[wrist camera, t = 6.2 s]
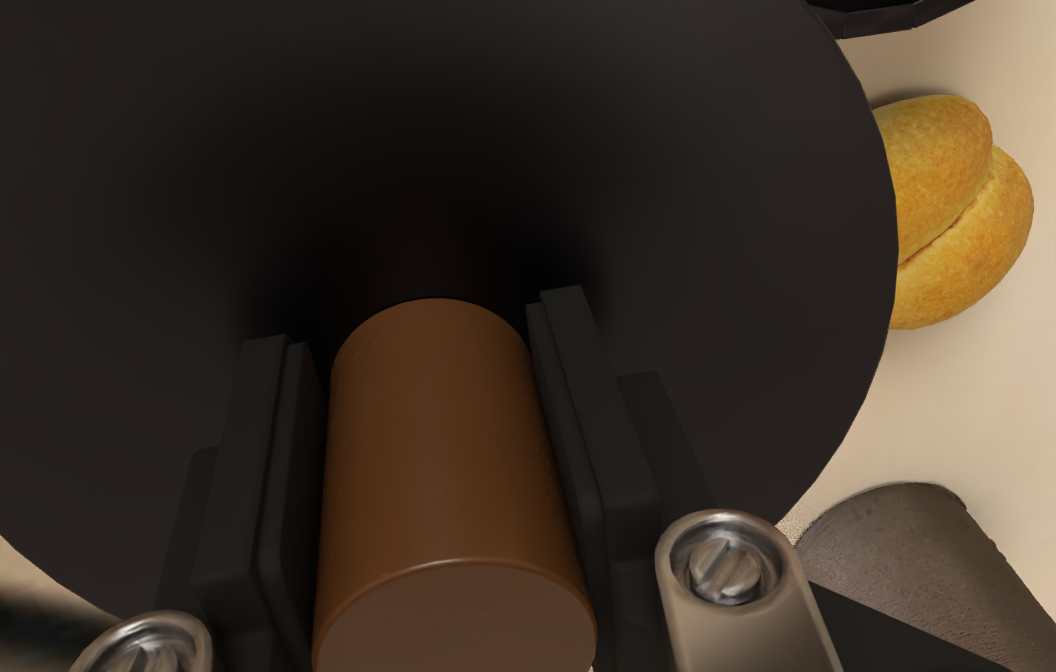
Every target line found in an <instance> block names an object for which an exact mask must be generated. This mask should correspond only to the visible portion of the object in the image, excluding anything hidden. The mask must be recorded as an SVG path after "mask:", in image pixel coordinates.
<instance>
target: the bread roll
mask: <svg viewBox="0 0 1056 672" xmlns="http://www.w3.org/2000/svg"><path fill="white" fill-rule="evenodd" d="M872 112H873V115H874V117H875V120H876V122H877V124H878V127H879V129H880V132H881V134H882V137H883V141H884V145H885V150H886V154H887V159H888V163H889V167H890V172H891V176H892V181H893V185H894V190H895V194H896V208H897V224H898V239H899V258H898V270H897V282H896V293H895V303H894V308H893V312H892V316H891V320H890V325H889V330H905V329H909V330H913V329H917V328H921V327H925V326H929V325H932V324H935V323H938V322H941V321H944V320H947V319H949V318H951V317H953V316H955V315H957V314H959V313H960V312H962V311H964V310H965V309H967V308H968V307H970V306H972V305H973V304H975V303H976V302H977V301H979V300H980V299H981V298H983V297H984V296H985V295H986V294H987V293H988V292H989V291H991V290H992V289H993V288H994V287H995V286H996V285H997V284H998V283H999V282H1000V281H1001V280H1002V279H1003V277H1004V276H1005V275H1006V273H1007V272H1008V271H1009V270H1010V269H1011V267H1012V266H1013V264H1014V263H1015V261H1016V260H1017V258H1018V257H1019V256H1020V254H1021V252H1022V250H1023V249H1024V247H1025V245H1026V242H1027V238H1028V235H1029V231H1030V228H1031V224H1032V218H1033V212H1034V201H1033V195H1032V190H1031V186H1030V184H1029V181H1028V179H1027V177H1026V176H1025V174H1024V172H1023V170H1022V169H1021V168H1020V167H1019V166H1018V164H1017V163H1016V162H1015V161H1014V159H1013V158H1011V157H1010V156H1009V155H1008V154H1006V153H1005V152H1004V151H1003V150H1001V149H1000V148H998V147H996V146H994V145H992V132H991V127H990V124H989V121H988V119H987V117H986V116H985V115H984V114H983V113H982V111H981V110H980V109H979V108H978V106H977V105H976V104H974V103H972V102H970V101H968V100H966V99H964V98H962V97H959V96H956V95H947V94H935V95H928V96H922V97H916V98H911V99H906V100H901V101H897V102H894V103H892V104H889V105H885V106H882V107H878V108H876V109H873V110H872Z"/></svg>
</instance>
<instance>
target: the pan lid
mask: <svg viewBox="0 0 1056 672" xmlns="http://www.w3.org/2000/svg"><path fill="white" fill-rule="evenodd" d="M898 258H899V239H898V224H897V208H896V194H895V190H894V185H893V181H892V176H891V172H890V167H889V163H888V159H887V154H886V150H885V145H884V141H883V137H882V134H881V132H880V129H879V127H878V124H877V122H876V120H875V117H874V115H873V112H872V110H871V107H870V105H869V102H868V100H867V97H866V95H865V92H864V90H863V87H862V85H861V82H860V80H859V79H858V77H857V75H856V74H855V72H854V70H853V69H852V67H851V65H850V64H849V62H848V60H847V59H846V57H845V56H844V54H843V52H842V51H841V49H840V47H839V46H838V44H837V42H836V41H835V39H834V37H833V36H832V34H831V32H830V31H829V29H828V27H827V26H826V25H825V24H824V23H823V21H822V20H821V19H820V18H819V17H818V15H817V14H816V13H815V12H814V11H813V10H812V8H811V7H810V6H809V5H808V4H807V3H806V1H805V0H0V535H1V536H2V537H3V538H4V539H5V540H6V541H7V542H8V543H9V544H10V545H11V546H12V547H13V548H14V549H15V550H16V551H18V552H19V553H20V554H21V555H23V556H24V557H25V558H26V559H28V560H29V561H30V562H32V563H33V564H34V565H35V566H37V567H38V568H39V569H41V570H42V571H43V572H44V573H46V574H47V575H48V576H49V577H51V578H52V579H53V580H55V581H56V582H57V583H58V584H60V585H62V586H63V587H65V588H67V589H68V590H70V591H71V592H73V593H75V594H76V595H78V596H80V597H81V598H83V599H84V600H86V601H88V602H89V603H91V604H92V605H94V606H96V607H97V608H99V609H101V610H102V611H104V612H106V613H108V614H110V615H112V616H114V617H116V618H118V619H120V620H122V621H124V620H126V619H129V618H132V617H135V616H137V615H140V614H143V613H146V612H151V611H152V609H153V605H154V601H155V597H156V593H157V589H158V585H159V582H160V578H161V574H162V570H163V566H164V562H165V558H166V554H167V550H168V546H169V543H170V539H171V535H172V531H173V527H174V523H175V519H176V515H177V511H178V507H179V504H180V500H181V496H182V492H183V488H184V484H185V480H186V476H187V472H188V468H189V465H190V461H191V459H192V456H193V454H194V453H195V452H196V451H197V450H198V449H203V448H208V447H214V446H220V443H221V439H222V434H223V430H224V425H225V421H226V416H227V411H228V407H229V402H230V398H231V393H232V389H233V384H234V380H235V375H236V371H237V366H238V361H239V357H240V352H241V348H242V345H243V342H244V341H246V340H252V339H258V338H264V337H270V336H276V335H282V334H288V335H289V336H290V337H291V339H292V341H293V344H295V343H301V342H306V343H307V345H308V346H309V349H310V352H311V355H312V359H313V362H314V365H315V368H316V372H317V375H318V378H319V381H320V385H321V388H322V391H323V394H324V398H325V401H326V404H327V407H328V419H327V434H326V448H325V462H324V476H323V491H322V505H321V519H320V533H319V548H318V562H317V576H316V590H315V605H314V619H313V633H312V647H311V669H312V672H588V671H589V669H590V668H591V666H592V663H593V661H594V658H595V656H596V652H597V647H598V642H599V625H598V620H597V616H596V612H595V608H594V604H593V601H592V599H591V597H590V594H589V590H588V586H587V582H586V578H585V574H584V570H583V566H582V562H581V558H580V554H579V550H578V546H577V542H576V538H575V534H574V530H573V526H572V522H571V518H570V514H569V510H568V506H567V502H566V498H565V494H564V490H563V486H562V482H561V478H560V474H559V470H558V466H557V462H556V458H555V454H554V450H553V446H552V442H551V438H550V434H549V430H548V427H547V423H546V419H545V415H544V411H543V407H542V403H541V399H540V395H539V391H538V387H537V383H536V379H535V375H534V370H533V363H532V355H531V347H530V339H529V331H528V324H527V316H526V305H527V304H533V303H539V302H540V298H539V293H540V291H545V290H551V289H557V288H563V287H569V286H575V285H580V286H581V288H582V290H583V292H584V295H585V298H586V300H587V303H588V306H589V308H590V311H591V314H592V316H593V319H594V322H595V324H596V327H597V330H598V332H599V335H600V338H601V340H602V343H603V346H604V348H605V351H606V354H607V356H608V359H609V362H610V364H611V367H612V370H613V372H614V375H615V377H617V376H622V375H628V374H634V373H640V372H646V371H651V370H654V371H656V372H657V373H658V375H659V377H660V379H661V381H662V383H663V385H664V387H665V389H666V392H667V394H668V396H669V398H670V401H671V403H672V405H673V407H674V410H675V412H676V414H677V416H678V419H679V421H680V423H681V425H682V428H683V430H684V432H685V434H686V437H687V439H688V441H689V443H690V446H691V448H692V450H693V452H694V455H695V457H696V459H697V461H698V464H699V466H700V468H701V470H702V473H703V475H704V477H705V479H706V481H707V484H708V486H709V488H710V490H711V493H712V495H713V497H714V499H715V502H716V504H717V506H718V508H719V509H734V510H739V511H743V512H747V513H752V514H754V515H756V516H758V517H760V518H762V519H764V520H766V521H768V522H770V523H771V524H773V525H774V526H775V525H776V524H777V523H778V522H779V521H780V520H782V519H783V518H784V517H785V516H786V514H787V513H788V512H789V511H790V510H791V509H792V507H793V506H794V505H795V504H796V503H797V502H798V501H799V499H800V498H801V497H802V496H803V495H804V494H805V492H806V491H807V490H808V489H809V488H810V487H811V486H812V484H813V483H814V482H815V481H816V479H817V478H818V477H819V475H820V474H821V472H822V471H823V469H824V468H825V466H826V465H827V464H828V462H829V461H830V459H831V458H832V456H833V455H834V453H835V452H836V450H837V449H838V448H839V446H840V445H841V443H842V442H843V440H844V438H845V436H846V434H847V432H848V431H849V429H850V427H851V425H852V423H853V421H854V419H855V417H856V416H857V414H858V412H859V410H860V408H861V406H862V404H863V402H864V400H865V399H866V396H867V393H868V391H869V388H870V385H871V383H872V380H873V378H874V375H875V372H876V370H877V367H878V364H879V362H880V359H881V356H882V354H883V351H884V346H885V342H886V338H887V333H888V329H889V325H890V320H891V316H892V312H893V308H894V303H895V293H896V282H897V270H898Z"/></svg>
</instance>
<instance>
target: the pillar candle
mask: <svg viewBox="0 0 1056 672" xmlns="http://www.w3.org/2000/svg"><path fill="white" fill-rule="evenodd" d="M966 508H967V507H966V505H965V504H964V503H963V502H962V501H961V499H960V498H959V497H958V496H956V495H955V494H954V493H952V492H950V491H949V490H947V489H945V488H943V487H940V486H937V485H935V484H923V483H904V484H896V485H892V486H887V487H881V488H878V489H874V490H871V491H868V492H866V493H863V494H861V495H858V496H856V497H854V498H851V499H850V500H849V501H846V502H843V503H841V504H839V505H837V506H836V507H835V508H833V509H831V510H830V511H829V512H828V513H826V514H824V515H823V517H821V518H820V519H819V520H817V521H816V522H815V523H814V525H813V526H812V527H811V528H810V529H809V530H807V532H806V533H805V534H804V535H803V537H802V538H801V540H800V541H799V542H798V544H797V546H796V548H795V549H794V550H795V551H796V554H797V556H798V559H799V561H800V563H801V566H802V568H803V571H804V573H805V576H806V578H807V580H809V581H811V582H813V583H816V584H818V585H820V586H823V587H825V588H827V589H829V590H832V591H834V592H836V593H838V594H841V595H843V596H845V597H848V598H850V599H852V600H854V601H857V602H859V603H861V604H864V605H866V606H868V607H870V608H873V609H875V610H877V611H879V612H882V613H884V614H886V615H889V616H891V617H893V618H895V619H898V620H900V621H902V622H905V623H907V624H909V625H911V626H914V627H916V628H918V629H920V630H923V631H925V632H927V633H930V634H932V635H934V636H936V637H939V638H941V639H943V640H946V641H948V642H950V643H952V644H955V645H957V646H959V647H961V648H964V649H966V650H968V651H971V652H973V653H975V654H977V655H980V656H982V657H984V658H987V659H989V660H991V661H993V662H996V663H998V664H1000V665H1002V666H1004V667H1006V668H1008V669H1010V670H1011V671H1013V672H1056V623H1055V622H1054V621H1053V619H1052V618H1051V617H1050V616H1049V615H1048V614H1047V613H1046V611H1045V610H1044V609H1043V607H1042V606H1041V605H1040V604H1039V602H1038V601H1037V600H1036V599H1035V597H1034V596H1033V595H1032V593H1031V592H1030V591H1029V589H1028V588H1027V587H1026V585H1025V584H1024V583H1023V581H1022V580H1021V579H1020V577H1019V576H1018V575H1017V574H1016V572H1015V571H1014V570H1013V568H1012V567H1011V566H1010V565H1009V564H1008V562H1007V561H1006V558H1005V557H1004V555H1003V554H1002V553H1000V552H999V551H998V549H997V548H996V544H995V543H994V542H993V540H992V539H989V538H988V537H987V536H986V534H985V533H984V532H983V531H982V529H981V528H980V527H979V526H978V524H977V523H976V521H975V520H974V519H973V518H972V517H971V516H970V514H969V513H968V512H967V511H966V510H967V509H966Z"/></svg>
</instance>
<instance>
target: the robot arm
mask: <svg viewBox="0 0 1056 672" xmlns="http://www.w3.org/2000/svg"><path fill="white" fill-rule="evenodd" d="M539 298H540V302H539V303H533V304H527V305H526V316H527V324H528V331H529V339H530V347H531V355H532V363H533V370H534V375H535V379H536V383H537V387H538V391H539V395H540V399H541V403H542V407H543V411H544V415H545V419H546V423H547V427H548V430H549V434H550V438H551V442H552V446H553V450H554V454H555V458H556V462H557V466H558V470H559V474H560V478H561V482H562V486H563V490H564V494H565V498H566V502H567V506H568V510H569V514H570V518H571V522H572V526H573V530H574V534H575V538H576V542H577V546H578V550H579V554H580V558H581V562H582V566H583V570H584V574H585V578H586V582H587V586H588V590H589V594H590V597H591V599H592V601H593V604H594V608H595V612H596V616H597V620H598V625H599V642H598V647H597V652H596V656H595V658H594V661H593V663H592V667H593V671H594V672H1013V671H1011V670H1010V669H1008V668H1006V667H1004V666H1002V665H1000V664H998V663H996V662H993V661H991V660H989V659H987V658H984V657H982V656H980V655H977V654H975V653H973V652H971V651H968V650H966V649H964V648H961V647H959V646H957V645H955V644H952V643H950V642H948V641H946V640H943V639H941V638H939V637H936V636H934V635H932V634H930V633H927V632H925V631H923V630H920V629H918V628H916V627H914V626H911V625H909V624H907V623H905V622H902V621H900V620H898V619H895V618H893V617H891V616H889V615H886V614H884V613H882V612H879V611H877V610H875V609H873V608H870V607H868V606H866V605H864V604H861V603H859V602H857V601H854V600H852V599H850V598H848V597H845V596H843V595H841V594H838V593H836V592H834V591H832V590H829V589H827V588H825V587H823V586H820V585H818V584H816V583H813V582H811V581H809V580H807V578H806V576H805V573H804V571H803V568H802V566H801V563H800V561H799V559H798V556H797V554H796V551H795V550H794V548H793V547H792V545H791V543H790V542H789V540H788V539H787V537H786V536H785V535H784V534H783V533H782V532H781V531H780V530H778V529H777V528H776V527H775V526H774V525H773V524H771V523H770V522H768V521H766V520H764V519H762V518H760V517H758V516H756V515H754V514H752V513H747V512H743V511H739V510H734V509H719V508H718V506H717V504H716V502H715V499H714V497H713V495H712V493H711V490H710V488H709V486H708V484H707V481H706V479H705V477H704V475H703V473H702V470H701V468H700V466H699V464H698V461H697V459H696V457H695V455H694V452H693V450H692V448H691V446H690V443H689V441H688V439H687V437H686V434H685V432H684V430H683V428H682V425H681V423H680V421H679V419H678V416H677V414H676V412H675V410H674V407H673V405H672V403H671V401H670V398H669V396H668V394H667V392H666V389H665V387H664V385H663V383H662V381H661V379H660V377H659V375H658V373H657V372H656V371H654V370H651V371H646V372H640V373H634V374H628V375H622V376H617V377H615V375H614V372H613V370H612V367H611V364H610V362H609V359H608V356H607V354H606V351H605V348H604V346H603V343H602V340H601V338H600V335H599V332H598V330H597V327H596V324H595V322H594V319H593V316H592V314H591V311H590V308H589V306H588V303H587V300H586V298H585V295H584V292H583V290H582V288H581V286H580V285H575V286H569V287H563V288H557V289H551V290H545V291H540V293H539ZM327 419H328V407H327V404H326V401H325V398H324V394H323V391H322V388H321V385H320V381H319V378H318V375H317V372H316V368H315V365H314V362H313V359H312V355H311V352H310V349H309V346H308V345H307V343H306V342H301V343H295V344H293V341H292V339H291V337H290V336H289V335H288V334H282V335H276V336H270V337H264V338H258V339H252V340H246V341H244V342H243V345H242V348H241V352H240V357H239V361H238V366H237V371H236V375H235V380H234V384H233V389H232V393H231V398H230V402H229V407H228V411H227V416H226V421H225V425H224V430H223V434H222V439H221V443H220V446H214V447H208V448H203V449H198V450H197V451H196V452H195V453H194V454H193V456H192V459H191V461H190V465H189V468H188V472H187V476H186V480H185V484H184V488H183V492H182V496H181V500H180V504H179V507H178V511H177V515H176V519H175V523H174V527H173V531H172V535H171V539H170V543H169V546H168V550H167V554H166V558H165V562H164V566H163V570H162V574H161V578H160V582H159V585H158V589H157V593H156V597H155V601H154V605H153V609H152V611H151V612H146V613H143V614H140V615H137V616H135V617H132V618H129V619H126V620H124V621H122V622H121V623H119V624H117V625H116V626H114V627H112V628H111V629H109V630H107V631H106V632H104V633H103V634H101V635H100V636H99V637H98V638H97V639H96V640H95V641H94V642H92V643H91V644H90V645H89V646H88V647H87V648H86V649H85V650H84V651H83V652H82V653H81V655H80V656H79V658H78V659H77V660H76V662H75V663H74V664H73V666H72V667H71V668H70V670H69V672H312V669H311V647H312V633H313V619H314V605H315V590H316V576H317V562H318V548H319V533H320V519H321V505H322V491H323V476H324V462H325V448H326V434H327Z"/></svg>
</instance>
